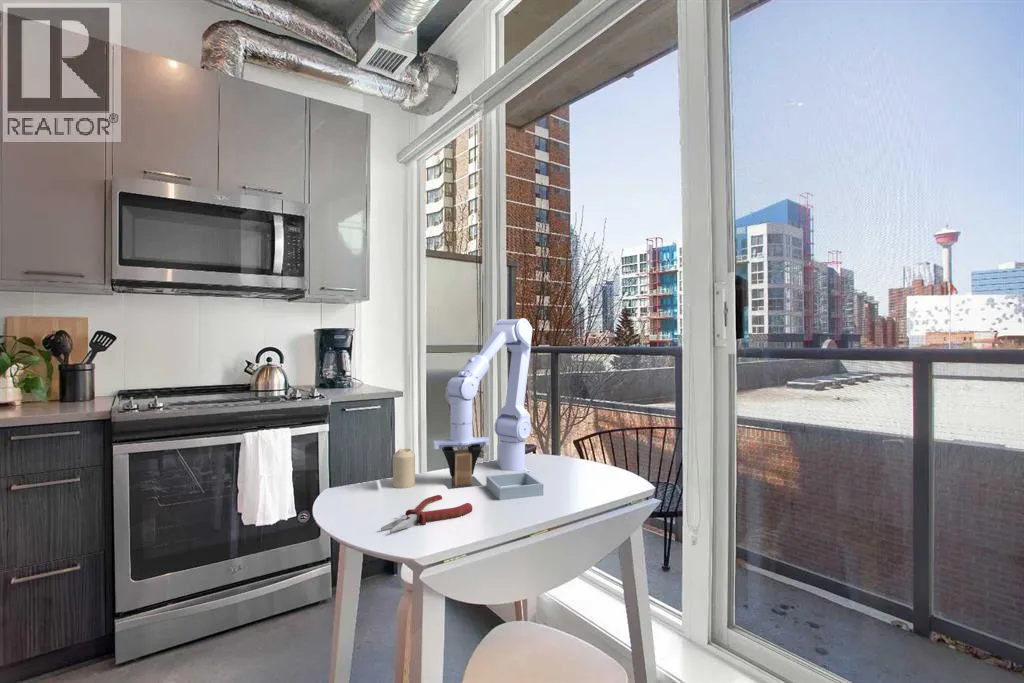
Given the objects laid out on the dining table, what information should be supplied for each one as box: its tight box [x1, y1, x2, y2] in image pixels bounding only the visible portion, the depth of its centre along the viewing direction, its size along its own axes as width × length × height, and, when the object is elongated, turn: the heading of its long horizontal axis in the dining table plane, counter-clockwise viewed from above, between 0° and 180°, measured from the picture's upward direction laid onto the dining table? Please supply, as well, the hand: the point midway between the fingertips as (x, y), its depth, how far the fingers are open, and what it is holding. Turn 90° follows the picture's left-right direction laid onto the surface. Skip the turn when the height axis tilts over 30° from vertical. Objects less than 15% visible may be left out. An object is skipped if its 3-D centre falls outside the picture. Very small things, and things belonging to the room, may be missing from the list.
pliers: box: [380, 494, 473, 533], centre depth 106 cm, size 12×20×3 cm, turn 143°
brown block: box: [451, 448, 473, 485], centre depth 130 cm, size 4×4×8 cm
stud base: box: [441, 475, 484, 490], centre depth 130 cm, size 9×9×3 cm
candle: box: [392, 448, 416, 489], centre depth 127 cm, size 6×6×10 cm
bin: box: [485, 471, 544, 501], centre depth 122 cm, size 11×11×4 cm
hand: (461, 474), depth 130 cm, fingers closed on brown block, 4 cm apart
